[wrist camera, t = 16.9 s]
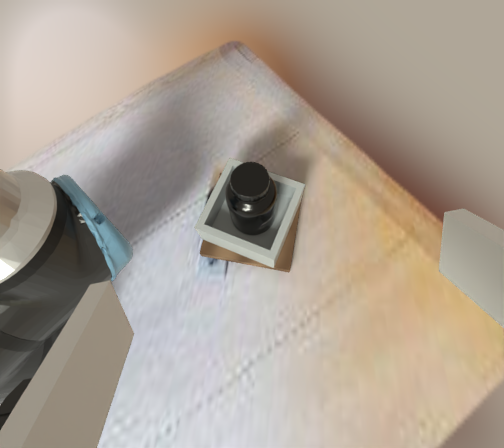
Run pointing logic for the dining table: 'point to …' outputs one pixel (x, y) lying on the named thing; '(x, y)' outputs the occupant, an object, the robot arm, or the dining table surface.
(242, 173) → the supplement bottle
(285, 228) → the grey square open box
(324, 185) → the dining table surface
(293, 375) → the dining table surface
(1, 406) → the robot arm
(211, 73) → the dining table surface
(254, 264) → the walnut plinth
